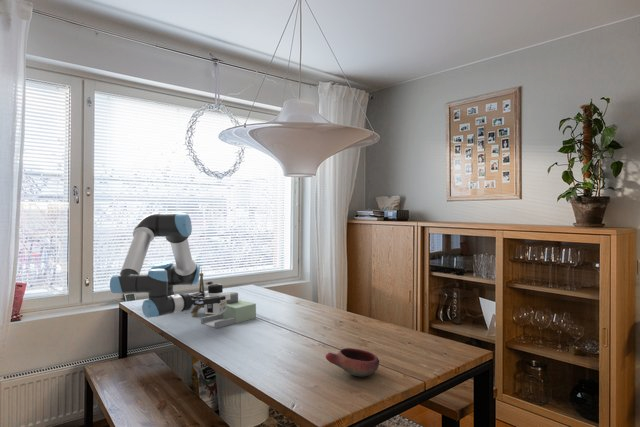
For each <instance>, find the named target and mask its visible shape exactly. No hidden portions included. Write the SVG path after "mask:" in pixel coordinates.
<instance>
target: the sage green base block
mask: <svg viewBox="0 0 640 427" xmlns="http://www.w3.org/2000/svg"><path fill="white" fill-rule="evenodd" d="M229 293H230V300H226V305H227V310H226V311H225V312H223V313H221V314H212V315H210V316H208V315H207V316H204V317H201V318H200V323H201V324H202V325H205V326H208V327H211V328H215V329H218V328H222V327H227V326H231V325H233V324H237V323H241V322H245V321H248V320H253V319H256V318H257V304H256V303H254V302H251V301H247V300H242V299H239V293H238V292H235V291H231V292H230V291H229V292H223V294H229Z"/></svg>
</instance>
